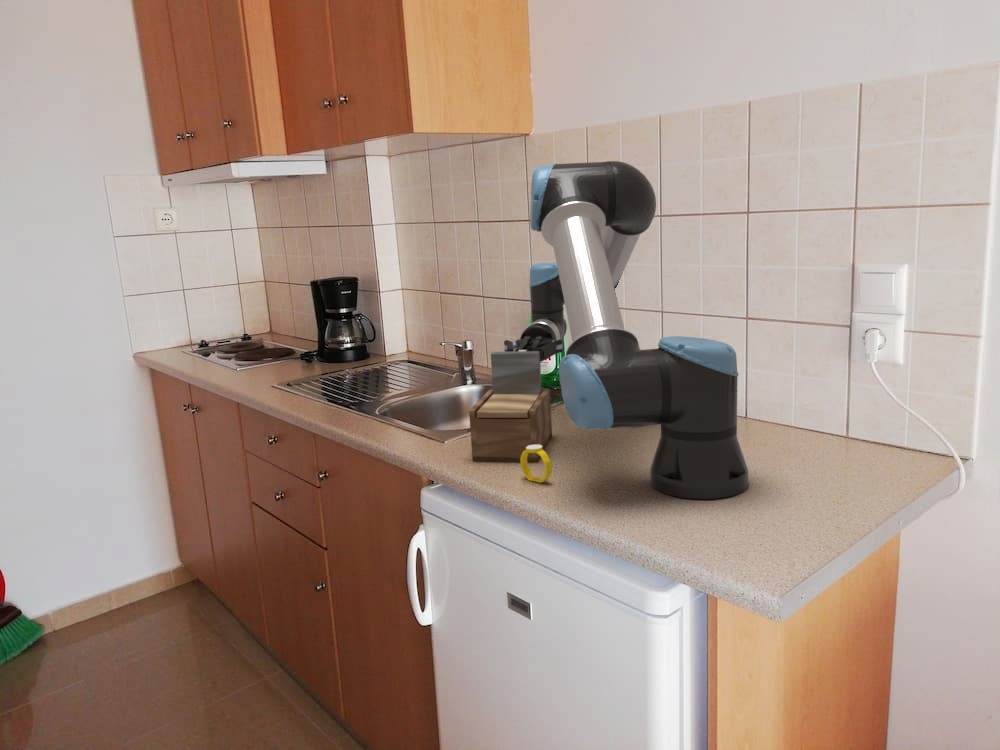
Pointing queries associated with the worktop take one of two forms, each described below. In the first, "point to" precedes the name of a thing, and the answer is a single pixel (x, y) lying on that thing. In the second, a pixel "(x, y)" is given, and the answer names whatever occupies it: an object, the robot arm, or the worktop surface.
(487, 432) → the walnut box
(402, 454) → the worktop surface
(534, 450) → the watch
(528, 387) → the lid
